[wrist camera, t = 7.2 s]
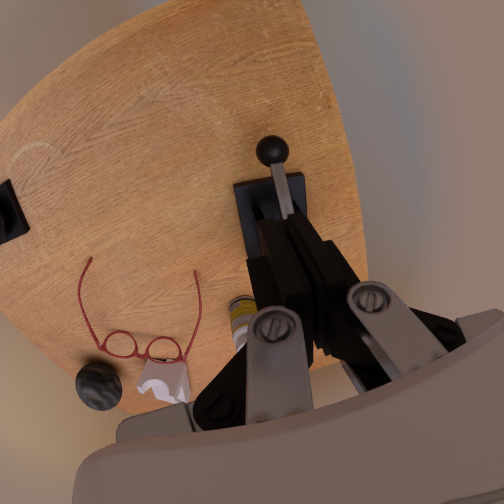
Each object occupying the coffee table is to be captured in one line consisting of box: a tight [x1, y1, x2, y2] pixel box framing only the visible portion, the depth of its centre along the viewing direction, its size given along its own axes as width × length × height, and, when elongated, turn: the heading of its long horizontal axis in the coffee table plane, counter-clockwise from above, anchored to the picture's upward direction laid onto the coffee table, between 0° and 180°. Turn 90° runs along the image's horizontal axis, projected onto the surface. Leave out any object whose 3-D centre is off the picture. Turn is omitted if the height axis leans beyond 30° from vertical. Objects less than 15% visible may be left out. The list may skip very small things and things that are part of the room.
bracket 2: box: [233, 172, 307, 259], centre depth 27 cm, size 10×8×13 cm
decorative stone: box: [76, 363, 122, 411], centre depth 42 cm, size 10×10×10 cm
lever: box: [256, 135, 294, 229], centre depth 24 cm, size 14×3×3 cm
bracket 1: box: [136, 358, 191, 404], centre depth 46 cm, size 13×7×8 cm, turn 174°
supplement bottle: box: [229, 296, 257, 352], centre depth 37 cm, size 5×5×8 cm
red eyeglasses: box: [78, 257, 202, 364], centre depth 36 cm, size 17×16×5 cm
